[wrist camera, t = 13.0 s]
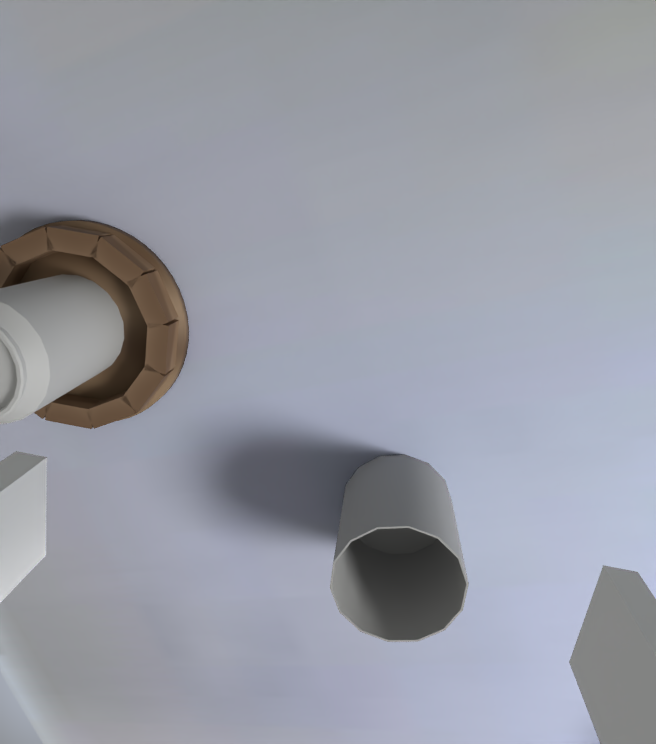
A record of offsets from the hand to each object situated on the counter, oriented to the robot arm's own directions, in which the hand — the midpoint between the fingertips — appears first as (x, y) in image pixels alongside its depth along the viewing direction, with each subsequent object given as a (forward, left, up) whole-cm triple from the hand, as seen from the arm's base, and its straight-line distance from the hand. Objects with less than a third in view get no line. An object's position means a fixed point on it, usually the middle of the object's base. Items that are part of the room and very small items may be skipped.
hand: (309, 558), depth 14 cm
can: (+4, -20, -28) cm, 35 cm away
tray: (+4, -20, -29) cm, 35 cm away
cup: (+14, +5, -29) cm, 32 cm away
